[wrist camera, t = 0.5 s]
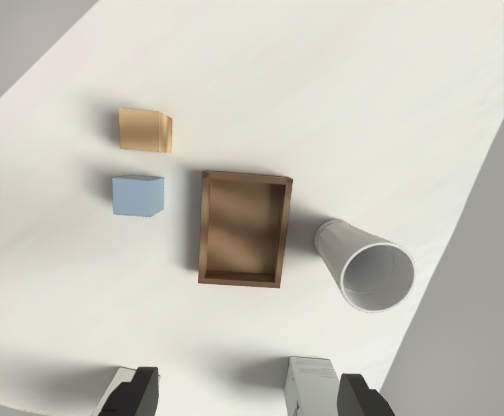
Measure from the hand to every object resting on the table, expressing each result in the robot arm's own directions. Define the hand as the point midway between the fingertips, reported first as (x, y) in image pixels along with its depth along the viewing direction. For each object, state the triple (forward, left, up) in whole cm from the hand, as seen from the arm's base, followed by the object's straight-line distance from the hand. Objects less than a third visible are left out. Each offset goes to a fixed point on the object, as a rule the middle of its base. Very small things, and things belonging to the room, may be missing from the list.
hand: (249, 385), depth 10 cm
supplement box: (+26, +13, -26) cm, 39 cm away
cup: (+1, +14, -26) cm, 29 cm away
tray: (0, 0, -25) cm, 25 cm away
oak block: (-12, -13, -25) cm, 31 cm away
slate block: (-4, -14, -25) cm, 29 cm away
